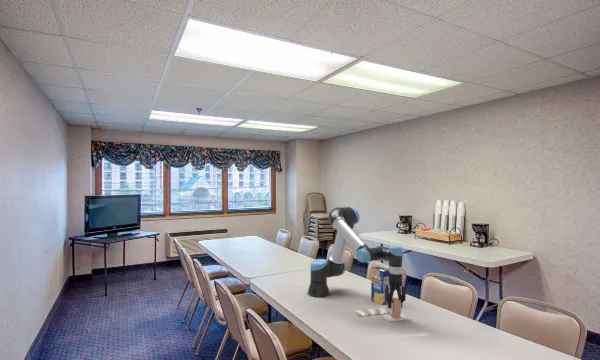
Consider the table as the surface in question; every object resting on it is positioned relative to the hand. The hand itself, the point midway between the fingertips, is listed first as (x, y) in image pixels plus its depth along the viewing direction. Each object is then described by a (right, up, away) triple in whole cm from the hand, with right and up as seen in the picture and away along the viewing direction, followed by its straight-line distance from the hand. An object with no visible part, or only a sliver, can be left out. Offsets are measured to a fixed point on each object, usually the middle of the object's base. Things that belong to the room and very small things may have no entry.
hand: (395, 313), depth 187 cm
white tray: (-8, -4, +3) cm, 9 cm away
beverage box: (-1, -4, +28) cm, 29 cm away
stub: (0, -3, 0) cm, 3 cm away
